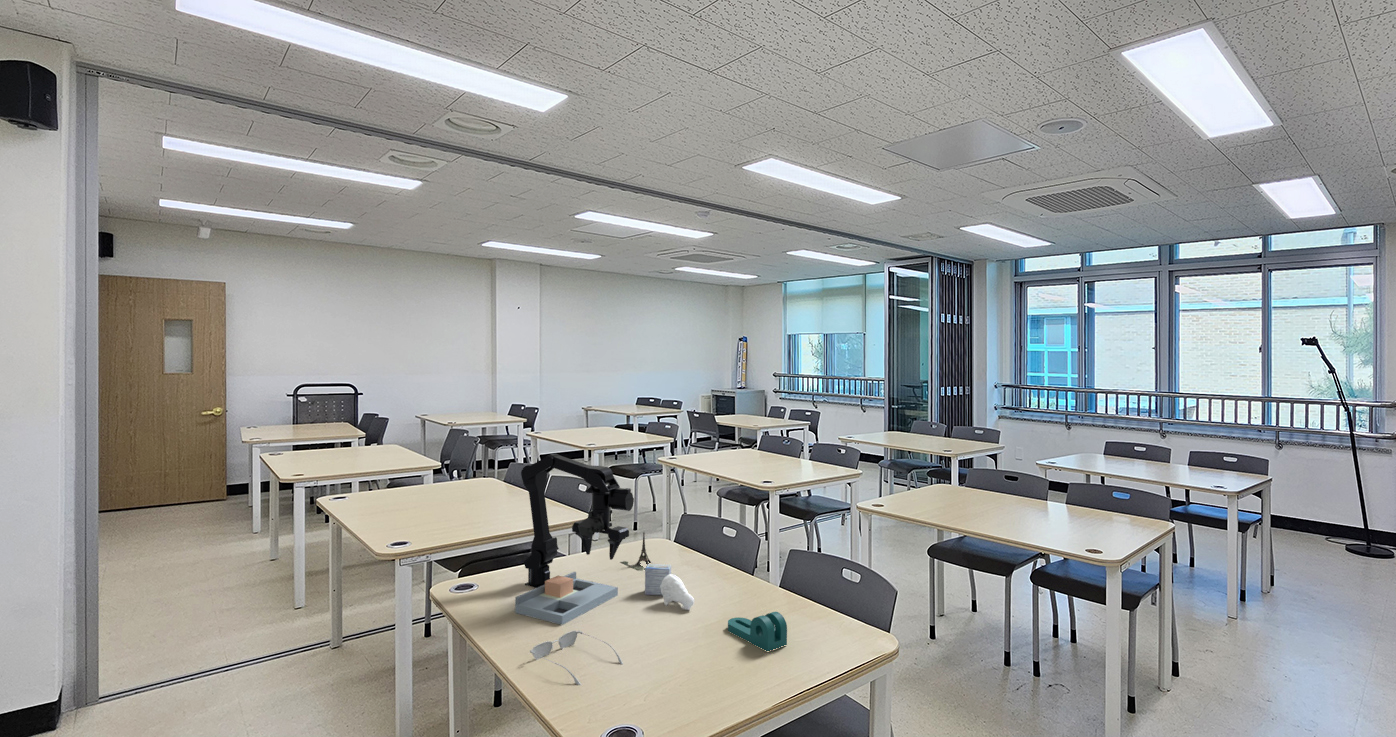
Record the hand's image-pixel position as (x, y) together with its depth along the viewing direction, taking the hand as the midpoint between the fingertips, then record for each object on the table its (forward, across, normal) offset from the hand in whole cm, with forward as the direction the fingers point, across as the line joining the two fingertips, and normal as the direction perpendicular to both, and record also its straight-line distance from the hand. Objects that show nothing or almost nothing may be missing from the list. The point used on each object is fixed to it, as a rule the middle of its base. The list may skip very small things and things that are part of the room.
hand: (599, 556), depth 198 cm
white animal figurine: (+12, +26, +5) cm, 29 cm away
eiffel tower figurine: (+12, -5, +32) cm, 35 cm away
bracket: (+12, +55, -3) cm, 56 cm away
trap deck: (+12, -3, -11) cm, 16 cm away
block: (+9, -7, -11) cm, 16 cm away
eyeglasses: (+12, +25, -39) cm, 48 cm away
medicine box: (+12, +15, +11) cm, 22 cm away
